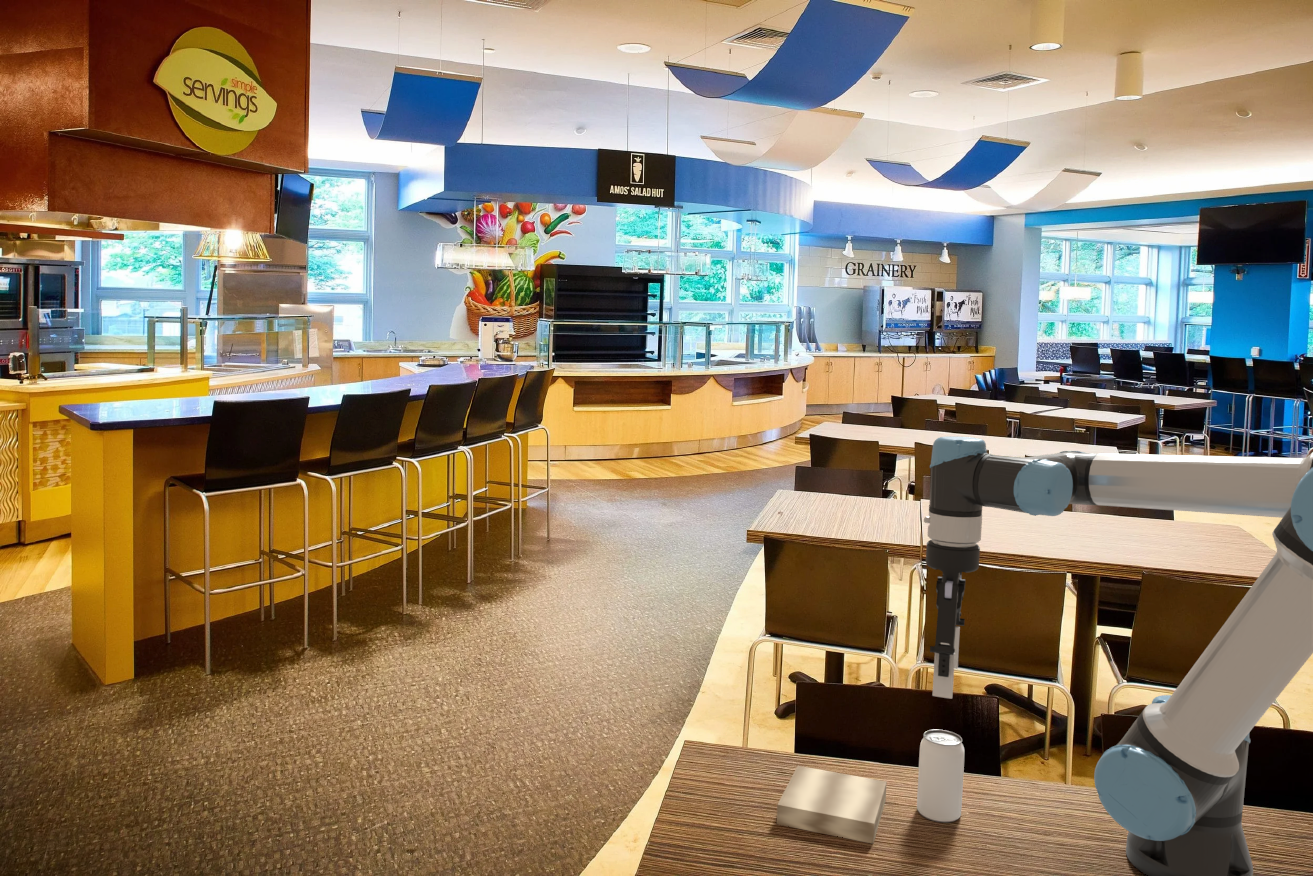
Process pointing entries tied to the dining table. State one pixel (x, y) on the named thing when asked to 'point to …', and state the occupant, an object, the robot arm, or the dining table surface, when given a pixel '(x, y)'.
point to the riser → (832, 804)
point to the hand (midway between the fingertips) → (945, 681)
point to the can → (940, 776)
